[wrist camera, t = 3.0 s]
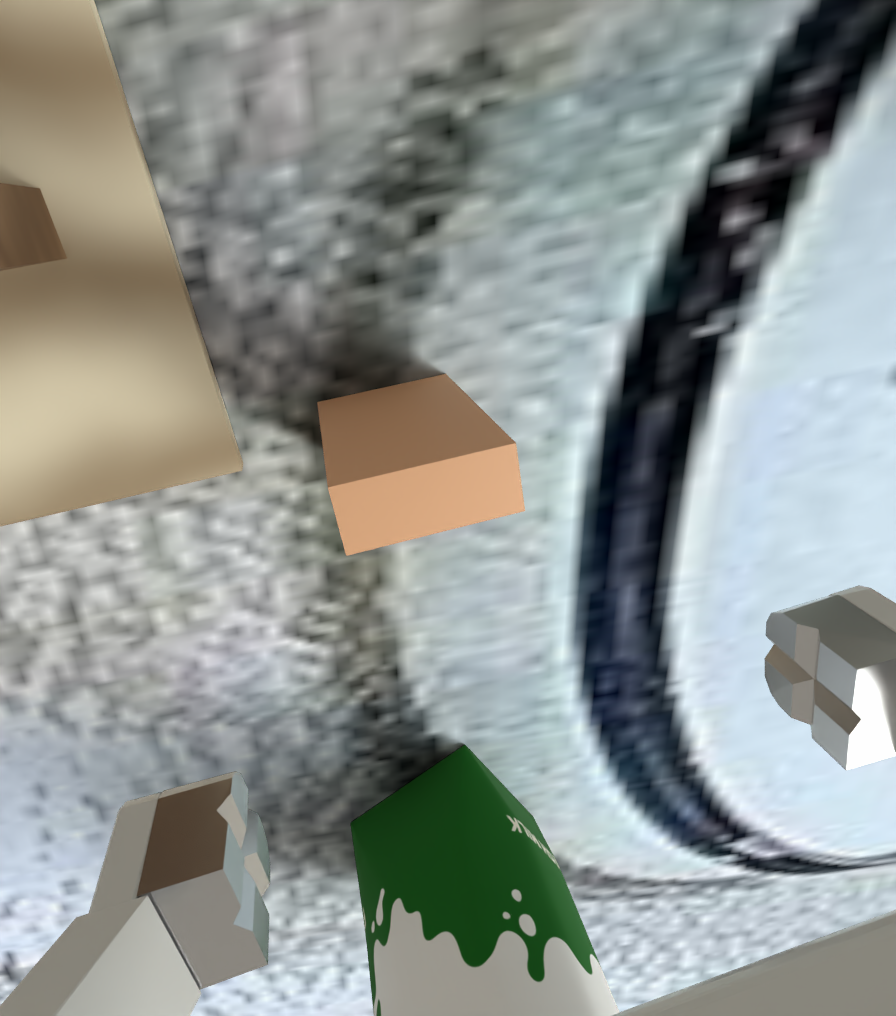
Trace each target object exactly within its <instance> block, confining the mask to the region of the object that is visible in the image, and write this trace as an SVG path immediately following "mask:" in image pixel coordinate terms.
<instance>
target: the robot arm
mask: <svg viewBox="0 0 896 1016" xmlns="http://www.w3.org/2000/svg"><path fill="white" fill-rule="evenodd" d="M766 636H767V638H768V639H769V640H770V641H771V642H772V643H773V644H774V645H773V647H772V648H771V650H770V651H769V653H768V655H767V656H766V658H765V678H766V681H767V684H768V687H769V689H770V692H771V694H772V696H773V697H774V699H775V700H776V702H777V703H778V705H779V706H780V707H781V708H782V709H783V710H784V711H785V712H786V713H787V714H788V715H789V716H790V717H791V718H794V719H796V720H799V721H802V722H805V723H807V724H810V725H811V732H812V738H813V739H814V740H815V741H816V742H817V743H818V744H819V745H820V746H821V747H822V748H823V749H824V750H825V751H826V752H827V753H828V754H829V755H830V756H831V757H832V758H833V759H835V760H836V761H837V762H838V763H839V764H840V765H841V766H842V767H843V768H844V769H845V770H849V769H852V768H855V767H859V766H862V765H865V764H869V763H872V762H875V761H879V760H882V759H885V758H889V757H892V756H895V755H896V603H894V602H893V601H891V600H889V599H888V598H886V597H884V596H883V595H881V594H880V593H878V592H876V591H875V590H873V589H871V588H868V587H864V586H856V587H853V588H849V589H846V590H843V591H840V592H837V593H834V594H831V595H829V596H827V597H823V598H819V599H816V600H813V601H809V602H806V603H803V604H800V605H796V606H793V607H790V608H786V609H783V610H780V611H777V612H773V613H771V614H770V616H769V618H768V620H767V622H766ZM248 794H249V790H248V788H247V786H246V784H245V781H244V779H243V777H242V775H241V773H239V772H236V771H235V772H231V773H227V774H224V775H220V776H216V777H213V778H209V779H205V780H202V781H198V782H194V783H190V784H187V785H183V786H179V787H176V788H172V789H168V790H165V791H163V792H161V793H156V794H153V795H149V796H145V797H142V798H138V799H134V800H130V801H127V802H125V804H124V805H123V806H122V807H121V808H120V810H119V811H118V814H117V817H116V821H115V824H114V828H113V831H112V835H111V838H110V841H109V845H108V848H107V852H106V855H105V859H104V862H103V866H102V869H101V872H100V876H99V879H98V883H97V886H96V890H95V893H94V896H93V900H92V903H91V907H90V910H89V914H86V915H83V916H80V917H77V918H76V919H75V920H74V921H73V922H72V923H71V924H70V925H69V927H68V928H67V929H66V930H65V931H64V932H63V934H62V935H61V936H60V937H59V938H58V939H57V941H56V942H55V943H54V944H53V945H52V946H51V948H50V949H49V950H48V951H47V952H46V953H45V955H44V956H43V957H42V958H41V959H40V960H39V961H38V963H37V964H36V965H35V966H34V967H33V968H32V970H31V971H30V972H29V973H28V974H27V975H26V977H25V978H24V979H23V980H22V981H21V982H20V984H19V985H18V986H17V987H16V988H15V989H14V991H13V992H12V993H11V994H10V995H9V996H8V998H7V999H6V1000H5V1001H4V1002H3V1003H2V1004H1V1006H0V1016H190V1014H191V1013H192V1011H193V1009H194V1007H195V1005H196V1003H197V1001H198V999H199V997H200V995H201V991H200V989H203V988H206V987H208V986H211V985H214V984H216V983H219V982H222V981H225V980H227V979H230V978H233V977H235V976H238V975H241V974H244V973H246V972H249V971H252V970H254V969H257V968H260V967H263V966H265V965H268V940H269V913H268V911H267V909H266V906H265V904H264V902H263V899H262V896H263V894H264V893H265V891H266V890H267V888H268V887H269V885H270V860H269V852H268V843H267V839H266V835H265V831H264V828H263V825H262V822H261V820H260V817H259V815H258V813H256V812H254V811H252V810H250V809H248ZM611 1016H896V910H893V911H891V912H888V913H885V914H882V915H880V916H877V917H874V918H872V919H869V920H866V921H864V922H861V923H858V924H856V925H853V926H850V927H848V928H845V929H842V930H840V931H837V932H834V933H832V934H829V935H826V936H823V937H821V938H818V939H815V940H813V941H810V942H807V943H805V944H802V945H799V946H797V947H794V948H791V949H789V950H786V951H783V952H781V953H778V954H775V955H772V956H770V957H767V958H764V959H762V960H759V961H756V962H754V963H751V964H748V965H746V966H743V967H740V968H738V969H735V970H732V971H730V972H727V973H724V974H721V975H719V976H716V977H713V978H711V979H708V980H705V981H703V982H700V983H697V984H695V985H692V986H689V987H687V988H684V989H681V990H679V991H676V992H673V993H671V994H668V995H665V996H662V997H660V998H657V999H654V1000H652V1001H649V1002H646V1003H644V1004H641V1005H638V1006H636V1007H633V1008H630V1009H628V1010H625V1011H622V1012H620V1013H617V1014H614V1015H611Z"/></svg>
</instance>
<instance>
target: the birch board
mask: <svg viewBox="0 0 896 1016" xmlns="http://www.w3.org/2000/svg"><path fill="white" fill-rule="evenodd" d="M0 183H5V184H12V185H19V186H26V187H33V188H40V190H41V192H42V195H43V197H44V200H45V203H46V205H47V208H48V210H49V213H50V216H51V218H52V221H53V223H54V226H55V228H56V231H57V234H58V236H59V239H60V241H61V244H62V246H63V249H64V252H65V254H66V257H67V259H62V260H57V261H51V262H46V263H41V264H35V265H30V266H24V267H19V268H14V269H8V270H3V271H0V526H4V525H8V524H13V523H17V522H21V521H26V520H30V519H34V518H39V517H43V516H47V515H52V514H56V513H60V512H65V511H69V510H74V509H78V508H82V507H87V506H91V505H95V504H100V503H104V502H108V501H113V500H117V499H121V498H126V497H130V496H134V495H139V494H143V493H147V492H152V491H156V490H160V489H165V488H169V487H173V486H178V485H182V484H186V483H191V482H195V481H199V480H204V479H208V478H212V477H217V476H221V475H225V474H230V473H234V472H238V471H242V468H243V461H242V458H241V455H240V452H239V449H238V445H237V442H236V439H235V436H234V433H233V430H232V427H231V424H230V421H229V417H228V414H227V411H226V408H225V405H224V402H223V399H222V396H221V393H220V390H219V386H218V383H217V380H216V377H215V374H214V371H213V368H212V365H211V362H210V359H209V355H208V352H207V349H206V346H205V343H204V340H203V337H202V334H201V331H200V327H199V324H198V321H197V318H196V315H195V312H194V309H193V306H192V303H191V300H190V296H189V293H188V290H187V287H186V284H185V281H184V278H183V275H182V272H181V269H180V265H179V262H178V259H177V256H176V253H175V250H174V247H173V244H172V241H171V237H170V234H169V231H168V228H167V225H166V222H165V219H164V216H163V213H162V210H161V206H160V203H159V200H158V197H157V194H156V191H155V188H154V185H153V182H152V179H151V175H150V172H149V169H148V166H147V163H146V160H145V157H144V154H143V151H142V147H141V144H140V141H139V138H138V135H137V132H136V129H135V126H134V123H133V120H132V116H131V113H130V110H129V107H128V104H127V101H126V98H125V95H124V92H123V89H122V85H121V82H120V79H119V76H118V73H117V70H116V67H115V64H114V61H113V58H112V54H111V51H110V48H109V45H108V42H107V39H106V36H105V33H104V30H103V26H102V23H101V20H100V17H99V14H98V11H97V8H96V5H95V2H94V0H0Z"/></svg>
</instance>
